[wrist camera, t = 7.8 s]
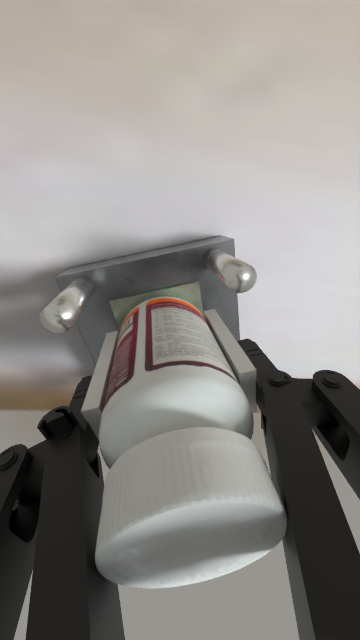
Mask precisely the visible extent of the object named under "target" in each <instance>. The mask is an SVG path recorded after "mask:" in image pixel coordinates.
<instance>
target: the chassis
mask: <svg viewBox="0 0 360 640" xmlns="http://www.w3.org/2000/svg"><path fill="white" fill-rule="evenodd" d="M256 278H257V275H256V271H255V269H254V268H253V267H252V266H250V265H249V264H247V263H245V262H243V261H241V260H239V259H237V258H235V247H234V239H232V238H228V237H225V236H218V237H214V238H209V239H204V240H200V241H195V242H190V243H185V244H181V245H176V246H171V247H167V248H162V249H157V250H152V251H148V252H143V253H138V254H134V255H129V256H124V257H119V258H115V259H110V260H105V261H101V262H96V263H91V264H86V265H82V266H77V267H72V268H68V269H66V270H65V271H63V272H62V273H61V274H59V275H58V276H56V277H55V279H56V281H57V283H58V285H59V287H60V289H61V293H60V294H59V295H58V296H57V297H56V298H55V299H54V300H53V301H51V302H50V303H49V304H48V305H47V306H46V307H45V308H44V309H43V310H42V311H41V312H40V315H39V321H40V323H41V325H42V326H43V327H44V328H45V329H46V330H48V331H50V332H52V333H64V332H66V331H68V330H69V329H70V328H71V326H72V325H73V323H74V322H75V321H76V324H77V326H78V328H79V330H80V332H81V334H82V336H83V339H84V341H85V343H86V345H87V347H88V349H89V351H90V354H91V356H92V358H93V360H94V362H95V364H97V361H98V358H99V355H100V352H101V349H102V346H103V343H104V340H105V337H106V334H107V333H110V332H114V331H118V333H119V334H120V331H121V327H122V324H123V322H124V320H125V318H126V317H127V315H128V314H129V313H130V311H131V310H132V309H134V308H135V307H136V306H137V305H139V304H140V303H142V302H144V301H146V300H149V299H152V298H156V297H175V298H179V299H182V300H185V301H187V302H189V303H190V304H192V305H193V306H194V307H196V308H197V309H198V310H199V312H200V313H201V314H202V316H203V317H204V319H205V315H204V311H207V310H212V309H215V310H216V312H217V313H218V315H219V316H220V318H221V319H222V321H223V322H224V324H225V325H226V326H227V328H228V329H229V331H230V332H231V334H232V335H233V337H234V338H235V339H236V341H240V333H239V316H238V299H237V293H243V292H246V291H248V290H250V289H251V288H252V287H253V285H254V284H255V282H256ZM257 407H258V405H257Z"/></svg>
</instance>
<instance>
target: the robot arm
mask: <svg viewBox="0 0 360 640" xmlns="http://www.w3.org/2000/svg"><path fill="white" fill-rule="evenodd" d="M204 315H205V321H206V322H207V324H208V326H209V328H210V330H211V332H212V334H213V336H214V338H215V339H216V341H217V343H218V345H219V347H220V349H221V351H222V352H223V354H224V356H225V358H226V360H227V362H228V364H229V366H230V367H231V369H232V371H233V373H234V375H235V377H236V379H237V380H238V382H239V384H240V386H241V388H242V389H243V391H244V393H245V395H246V397H247V400H248V402H249V404H250V407H251V410H252V413H254V412H257V405H258V407H259V409H260V410H261V428H262V429H263V431H264V436H265V443H266V448H267V454H268V460H269V466H270V471H271V476H272V480H273V482H274V485H275V487H276V489H277V491H278V493H279V496H280V498H281V500H282V503H283V505H284V507H285V510H286V513H287V526H286V533H285V536H284V537H283V539H282V540H283V546H284V552H285V557H286V564H287V569H288V574H289V581H290V586H291V592H292V598H293V604H294V609H295V615H296V621H297V627H298V633H299V638H300V640H360V554H359V551H358V548H357V546H356V543H355V540H354V538H353V535H352V532H351V530H350V527H349V525H348V522H347V519H346V517H345V514H344V512H343V509H342V506H341V504H340V501H339V499H338V496H337V494H336V491H335V488H334V486H333V483H332V480H331V478H330V475H329V473H328V470H327V468H326V465H325V462H324V459H323V457H322V454H321V452H320V449H319V446H318V444H317V441H316V439H315V436H314V433H313V431H314V432H315V434H316V435H317V436H318V438H319V440H320V441H321V443H322V444H323V445H324V447H325V448H326V450H327V451H328V453H329V454H330V456H331V457H332V459H333V460H334V462H335V463H336V465H337V466H338V468H339V469H340V471H341V472H342V474H343V475H344V477H345V478H346V480H347V481H348V483H349V484H350V486H351V487H352V488H353V490H354V492H355V493H356V495H357V496H358V498H359V499H360V390H359V389H358V388H357V387H356V386H355V385H354V384H353V383H352V382H351V381H350V380H349V379H348V378H346V377H345V376H343V375H342V374H340V373H337V372H335V371H330V370H321V371H318V372H316V373H315V374H314V375H313V379H298V378H291V376H290V375H288V374H287V373H285V372H283V371H280V370H277V368H276V367H275V366H274V365H273V364H272V362H271V361H270V360H269V359H268V357H267V356H266V355H265V354H264V353H263V351H262V350H261V349H260V348H259V347H258V345H257V344H256V343H255V342H253V341H251V340H250V339H244V340H240V341H236V339H235V338H234V337H233V335H232V334H231V332H230V331H229V329H228V328H227V326H226V325H225V324H224V322H223V321H222V319H221V318H220V316H219V315H218V313H217V312H216V310H215V309H212V310H207V311H204ZM118 339H119V333H118V331H114V332H110V333H107V334H106V337H105V340H104V343H103V346H102V349H101V352H100V355H99V358H98V361H97V364H96V367H95V370H94V373H93V375H92V376H88V377H84V378H83V379H82V380H81V381H80V382H79V384H78V385H77V388H76V390H75V393H74V395H73V397H72V400H71V402H70V405H69V407H67V406H61V407H58V408H55V409H53V410H51V411H50V412H48V413H47V414H46V415H45V416H44V417H43V418H42V419H41V421H40V422H39V424H38V427H37V428H38V429H39V430H40V432H41V433H42V434H43V435H44V437H45V438H46V440H45V441H43V442H41V443H39V444H37V445H35V446H33V447H31V448H29V449H27V447H26V446H25V445H22V444H18V445H15V446H12V447H10V448H8V449H6V450H5V451H4V452H2V453H1V454H0V640H13V639H14V635H15V632H16V628H17V624H18V621H19V617H20V614H21V610H22V606H23V603H24V599H25V595H26V592H27V588H28V584H29V581H30V577H31V574H32V570H33V575H32V585H31V594H30V604H29V614H28V623H27V633H26V640H125V636H124V630H123V622H122V614H121V607H120V600H119V592H118V585H117V583H114V582H112V581H110V580H108V579H106V578H105V577H103V576H102V575H101V574H100V572H99V571H98V570H97V567H96V563H95V551H96V543H97V536H98V529H99V523H100V517H101V510H102V501H103V491H104V481H103V474H102V468H101V460H100V456H99V454H98V452H97V450H98V446H99V430H100V423H101V414H102V411H103V408H104V404H105V399H106V393H107V389H108V385H109V381H110V376H111V371H112V367H113V362H114V357H115V353H116V348H117V344H118ZM312 429H313V431H312Z"/></svg>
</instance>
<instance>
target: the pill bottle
mask: <svg viewBox="0 0 360 640" xmlns="http://www.w3.org/2000/svg"><path fill="white" fill-rule="evenodd" d="M252 434H253V414H252V410H251V407H250V404H249V402H248V400H247V397H246V395H245V393H244V391H243V389H242V388H241V386H240V384H239V382H238V380H237V379H236V377H235V375H234V373H233V371H232V369H231V367H230V366H229V364H228V362H227V360H226V358H225V356H224V354H223V352H222V351H221V349H220V347H219V345H218V343H217V341H216V339H215V338H214V336H213V334H212V332H211V330H210V328H209V326H208V324H207V322H206V321H205V319H204V317H203V316H202V314H201V313H200V312H199V310H198V309H197V308H196V307H194V306H193V305H192V304H190V303H189V302H187V301H185V300H182V299H179V298H175V297H156V298H152V299H149V300H146V301H144V302H142V303H140V304H139V305H137V306H136V307H135V308H134V309H132V310H131V311H130V313H129V314H128V315H127V317H126V318H125V320H124V322H123V324H122V327H121V331H120V334H119V339H118V344H117V348H116V353H115V357H114V362H113V367H112V371H111V376H110V381H109V385H108V389H107V393H106V399H105V404H104V408H103V411H102V414H101V423H100V430H99V444H100V450H101V453H102V456H103V459H104V461H105V463H106V465H107V466H108V468H109V469H110V470H109V472H108V475H107V477H106V480H105V485H104V491H103V501H102V510H101V517H100V523H99V529H98V536H97V543H96V551H95V563H96V567H97V570H98V571H99V572H100V574H101V575H102V576H103V577H105V578H106V579H108V580H110V581H112V582H114V583H117V584H120V585H124V586H130V587H139V588H166V587H177V586H182V585H188V584H193V583H198V582H202V581H205V580H209V579H213V578H216V577H219V576H222V575H225V574H228V573H231V572H233V571H236V570H238V569H240V568H242V567H244V566H246V565H248V564H250V563H252V562H253V561H255V560H257V559H259V558H261V557H262V556H264V555H265V554H267V553H268V552H270V551H271V550H272V549H273V548H274V547H275V546H276V545H277V544H278V543H279V542H280V541H281V540H282V539H283V537H284V536H285V533H286V526H287V513H286V510H285V507H284V505H283V503H282V500H281V498H280V496H279V493H278V491H277V489H276V487H275V485H274V482H273V480H272V478H271V476H270V474H269V472H268V469H267V466H266V463H265V461H264V459H263V456H262V455H261V452H260V450H259V449H258V447H257V446H256V445H255V443H254V442H253V441H251V438H252Z"/></svg>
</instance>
